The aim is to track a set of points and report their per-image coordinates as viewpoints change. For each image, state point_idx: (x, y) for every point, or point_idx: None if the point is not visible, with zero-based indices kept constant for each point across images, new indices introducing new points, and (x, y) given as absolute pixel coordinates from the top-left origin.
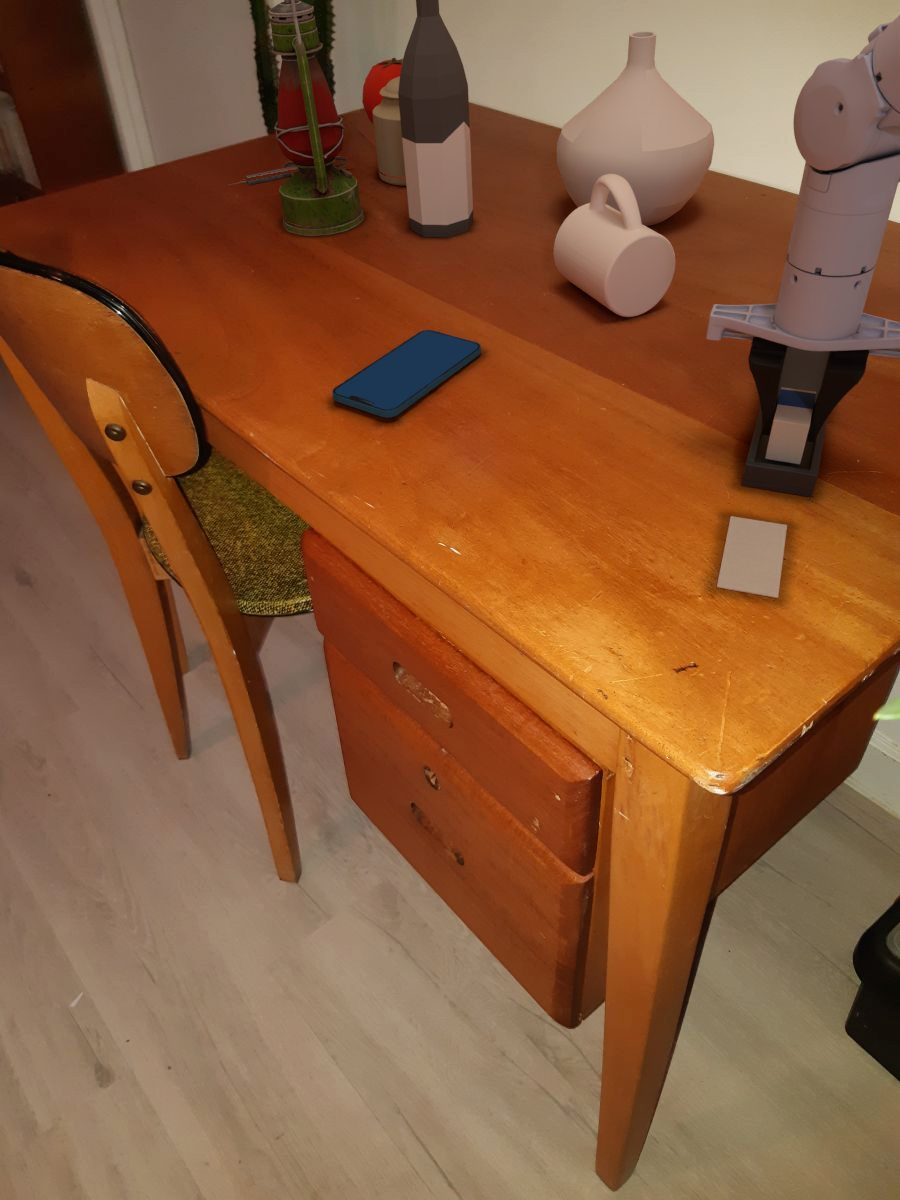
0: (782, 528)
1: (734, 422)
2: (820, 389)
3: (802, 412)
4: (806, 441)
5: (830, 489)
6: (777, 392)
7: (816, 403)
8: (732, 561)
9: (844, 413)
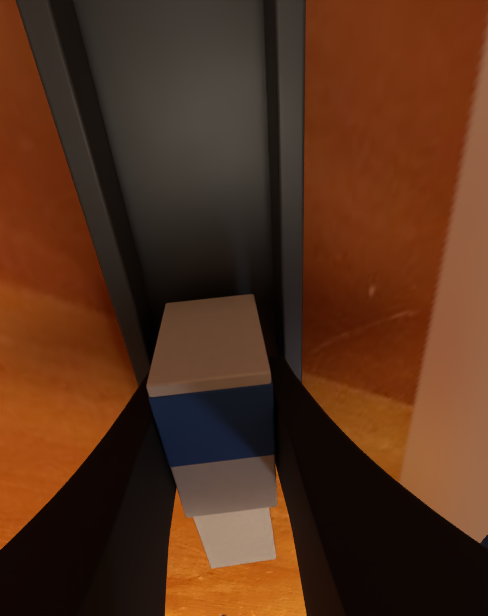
0: None
1: (54, 239)
2: (291, 464)
3: (249, 476)
4: (257, 290)
5: (319, 389)
6: (154, 486)
7: (282, 453)
8: (215, 543)
9: (344, 51)
